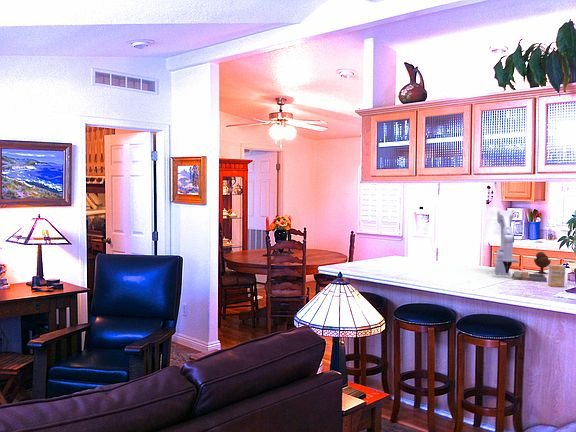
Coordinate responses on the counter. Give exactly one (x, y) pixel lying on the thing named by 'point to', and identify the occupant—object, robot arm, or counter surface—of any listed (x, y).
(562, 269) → the supplement box
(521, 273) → the terracotta tile
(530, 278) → the walnut board
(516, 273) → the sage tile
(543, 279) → the tray
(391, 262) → the counter surface
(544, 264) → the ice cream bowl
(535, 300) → the counter surface
